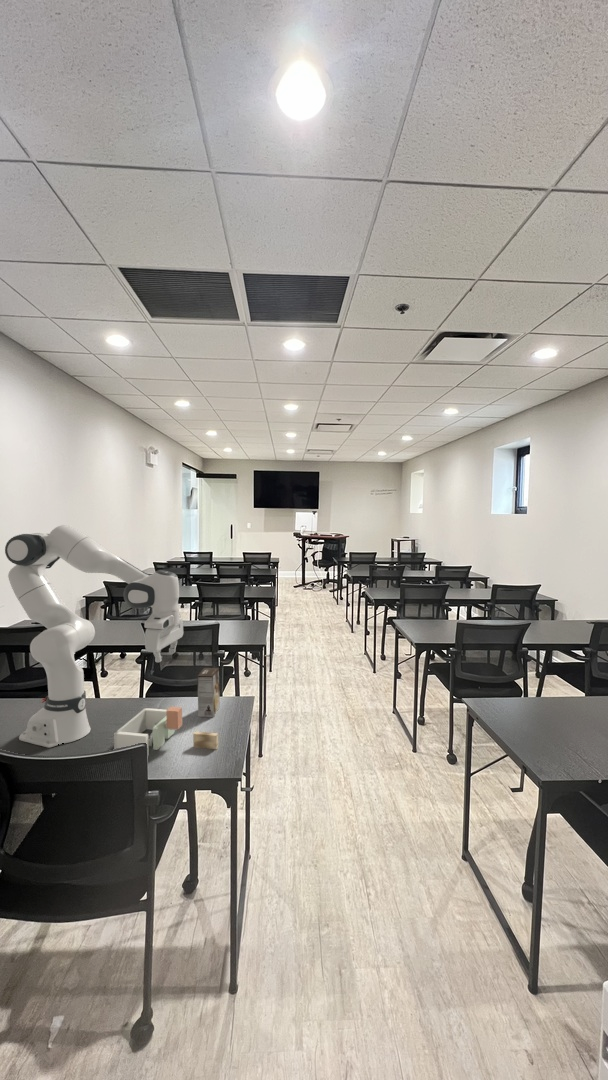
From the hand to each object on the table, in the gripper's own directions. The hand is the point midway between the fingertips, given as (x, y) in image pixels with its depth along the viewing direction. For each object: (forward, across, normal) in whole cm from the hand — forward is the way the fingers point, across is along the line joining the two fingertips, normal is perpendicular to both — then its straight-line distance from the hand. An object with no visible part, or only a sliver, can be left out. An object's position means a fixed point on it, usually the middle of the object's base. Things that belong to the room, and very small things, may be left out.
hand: (165, 657), depth 155 cm
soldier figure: (+28, +6, -2) cm, 28 cm away
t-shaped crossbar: (+26, +6, +5) cm, 27 cm away
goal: (+27, +6, -4) cm, 28 cm away
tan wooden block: (+27, +6, +18) cm, 33 cm away
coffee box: (+27, -19, +8) cm, 34 cm away
